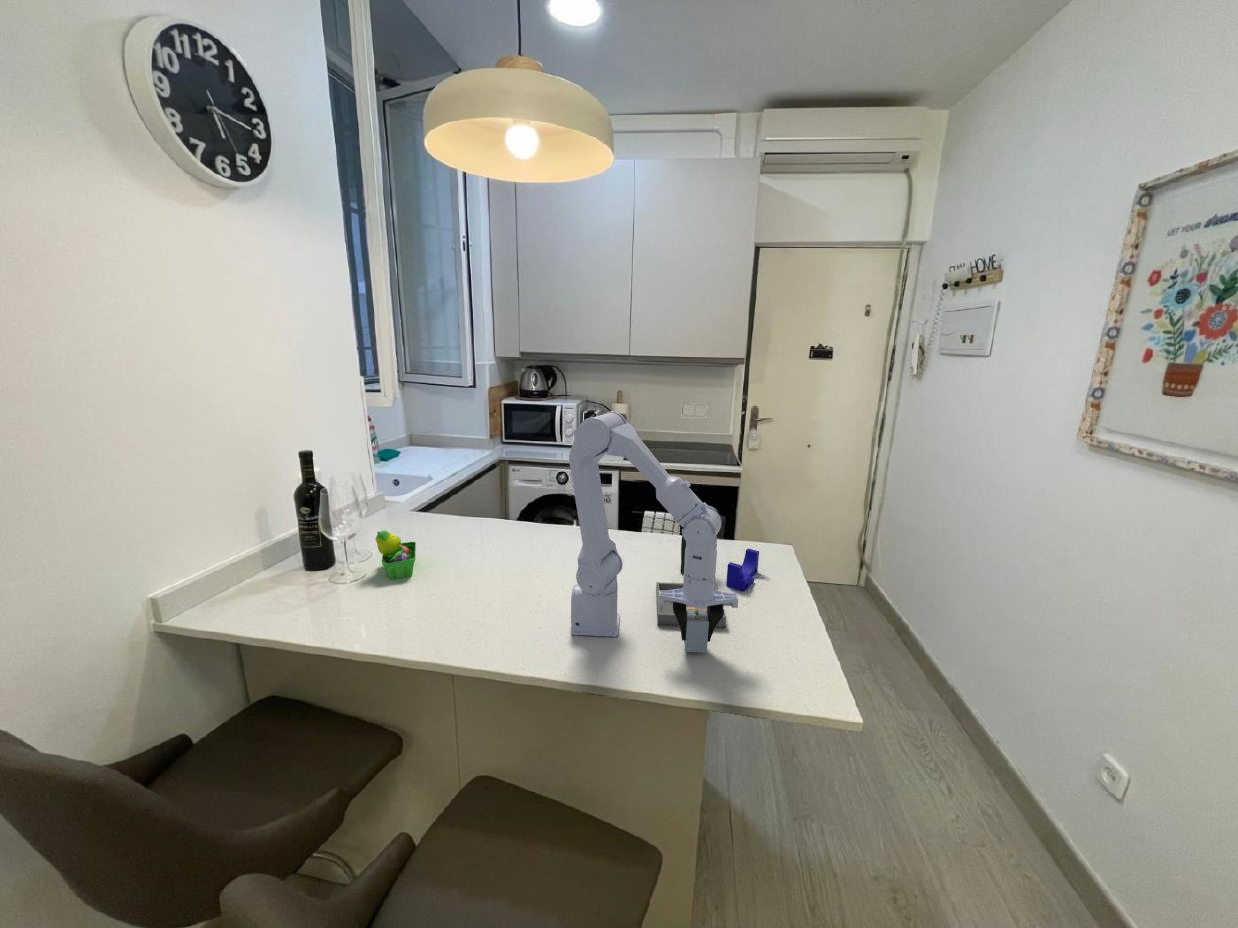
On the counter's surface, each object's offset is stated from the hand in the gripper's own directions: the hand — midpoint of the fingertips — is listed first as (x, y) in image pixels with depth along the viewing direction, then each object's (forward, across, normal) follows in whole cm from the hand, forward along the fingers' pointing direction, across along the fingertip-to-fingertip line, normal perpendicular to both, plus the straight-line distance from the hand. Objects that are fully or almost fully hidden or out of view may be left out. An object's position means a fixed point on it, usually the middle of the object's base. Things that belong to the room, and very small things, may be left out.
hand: (695, 638), depth 94 cm
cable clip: (+3, +15, +30) cm, 34 cm away
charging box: (+3, 0, +15) cm, 15 cm away
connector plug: (+2, 0, 0) cm, 2 cm away
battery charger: (+3, +3, +33) cm, 33 cm away
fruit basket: (+3, -72, +28) cm, 77 cm away
